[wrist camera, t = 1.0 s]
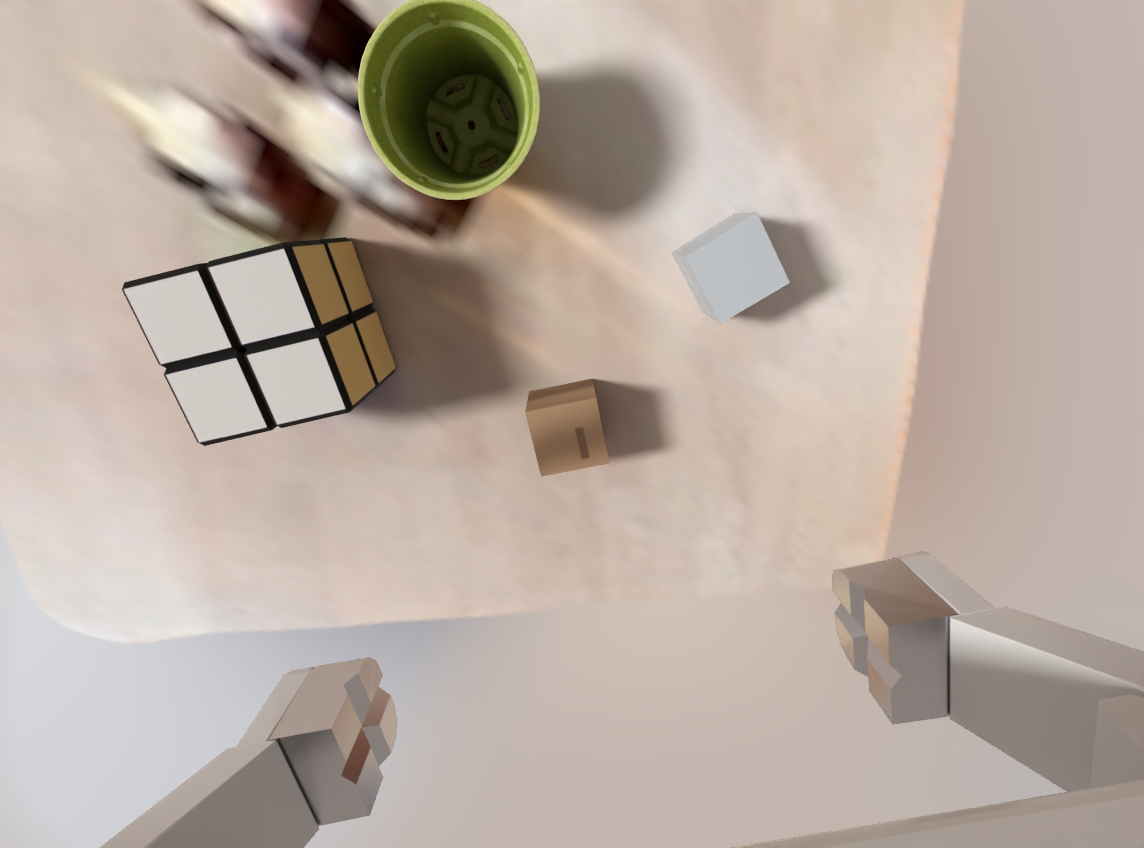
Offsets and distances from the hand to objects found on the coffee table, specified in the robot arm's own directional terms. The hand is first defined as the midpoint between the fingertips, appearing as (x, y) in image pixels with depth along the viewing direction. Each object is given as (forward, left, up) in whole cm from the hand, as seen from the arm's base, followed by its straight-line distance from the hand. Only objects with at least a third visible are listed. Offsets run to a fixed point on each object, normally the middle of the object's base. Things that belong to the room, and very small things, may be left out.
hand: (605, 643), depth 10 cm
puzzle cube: (-4, -19, -34) cm, 39 cm away
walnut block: (+7, -2, -34) cm, 35 cm away
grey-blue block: (-2, +11, -34) cm, 36 cm away
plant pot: (-14, -4, -34) cm, 37 cm away
